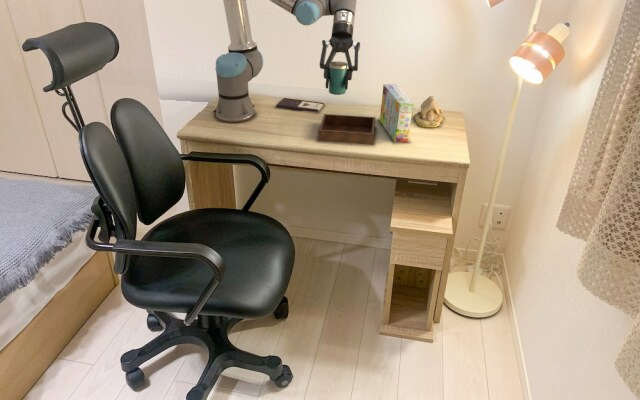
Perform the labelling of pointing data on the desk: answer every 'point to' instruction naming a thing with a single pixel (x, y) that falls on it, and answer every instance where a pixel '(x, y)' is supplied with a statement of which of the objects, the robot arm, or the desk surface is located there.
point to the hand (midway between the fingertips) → (336, 87)
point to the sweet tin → (337, 77)
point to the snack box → (396, 112)
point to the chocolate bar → (300, 105)
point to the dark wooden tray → (347, 129)
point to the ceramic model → (429, 114)
